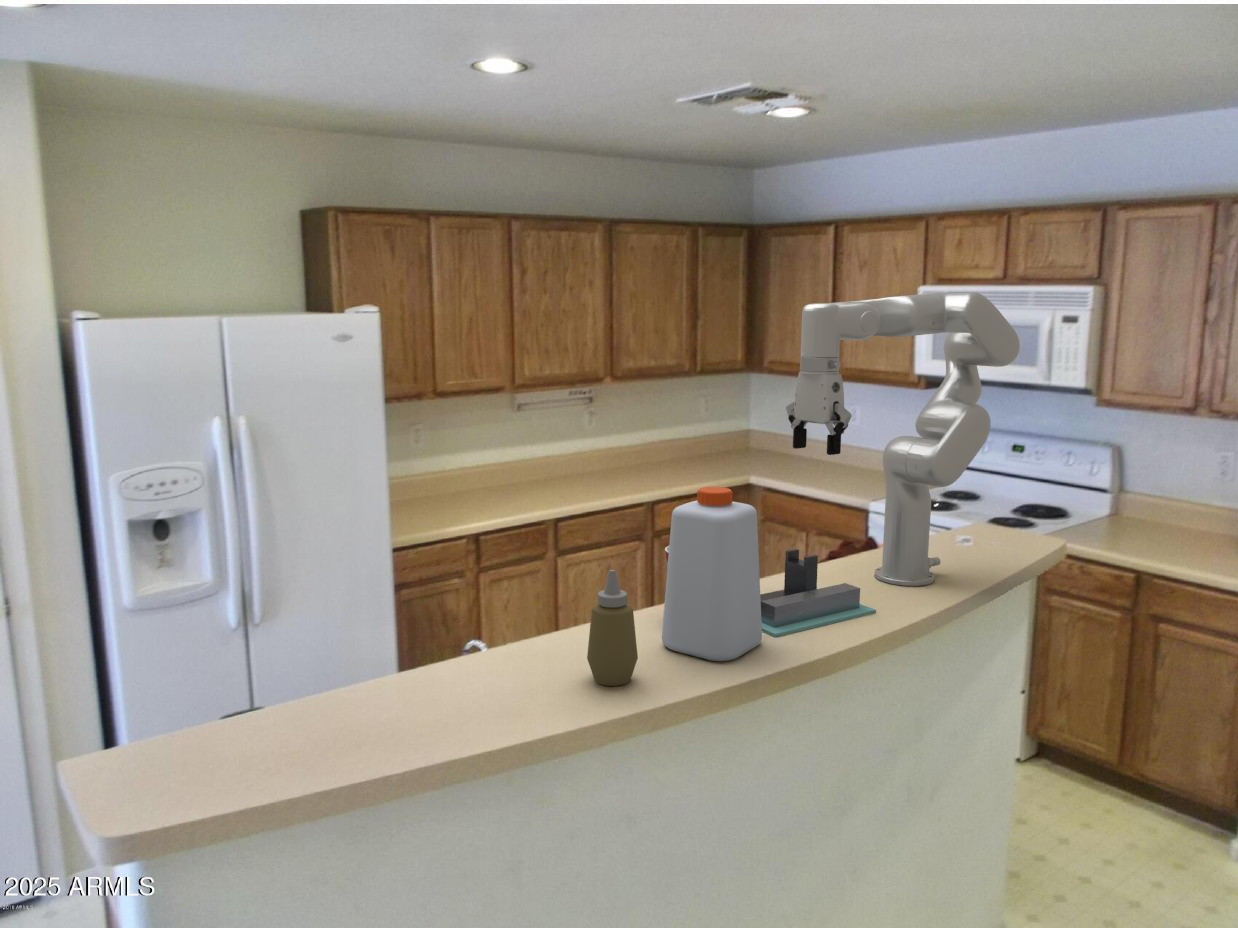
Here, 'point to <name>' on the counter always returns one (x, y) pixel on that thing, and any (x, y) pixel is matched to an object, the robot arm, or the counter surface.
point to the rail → (809, 605)
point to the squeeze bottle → (612, 636)
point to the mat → (817, 621)
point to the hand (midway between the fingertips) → (816, 451)
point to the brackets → (796, 575)
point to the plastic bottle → (713, 578)
